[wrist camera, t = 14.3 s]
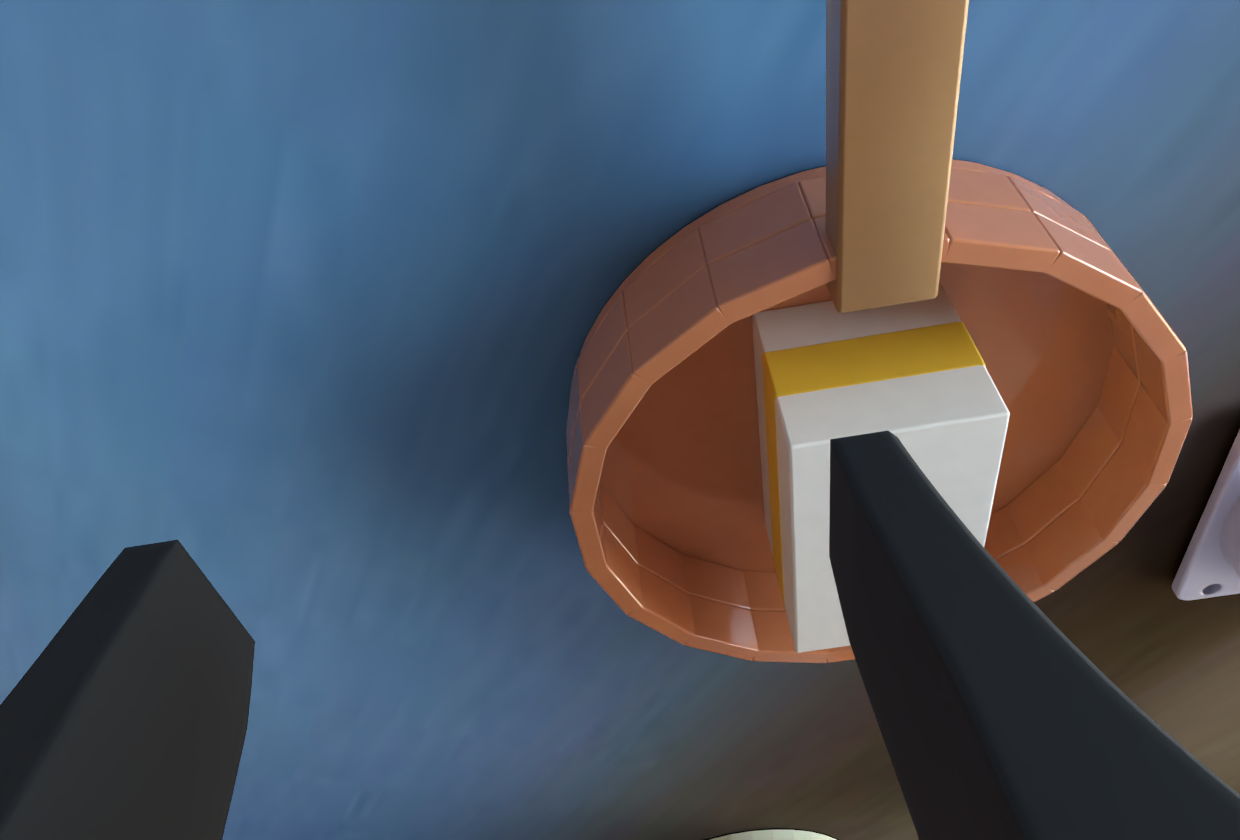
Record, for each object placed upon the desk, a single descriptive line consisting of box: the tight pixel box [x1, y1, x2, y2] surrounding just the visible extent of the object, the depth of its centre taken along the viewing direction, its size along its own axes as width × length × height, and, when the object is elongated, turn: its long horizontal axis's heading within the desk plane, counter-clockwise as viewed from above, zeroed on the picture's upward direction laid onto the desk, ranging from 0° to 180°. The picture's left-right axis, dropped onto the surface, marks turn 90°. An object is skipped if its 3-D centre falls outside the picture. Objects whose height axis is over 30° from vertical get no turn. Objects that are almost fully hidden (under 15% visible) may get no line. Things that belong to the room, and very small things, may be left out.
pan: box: [566, 159, 1193, 663], centre depth 22 cm, size 13×13×3 cm
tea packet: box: [752, 283, 1010, 653], centre depth 21 cm, size 4×7×4 cm, turn 9°
